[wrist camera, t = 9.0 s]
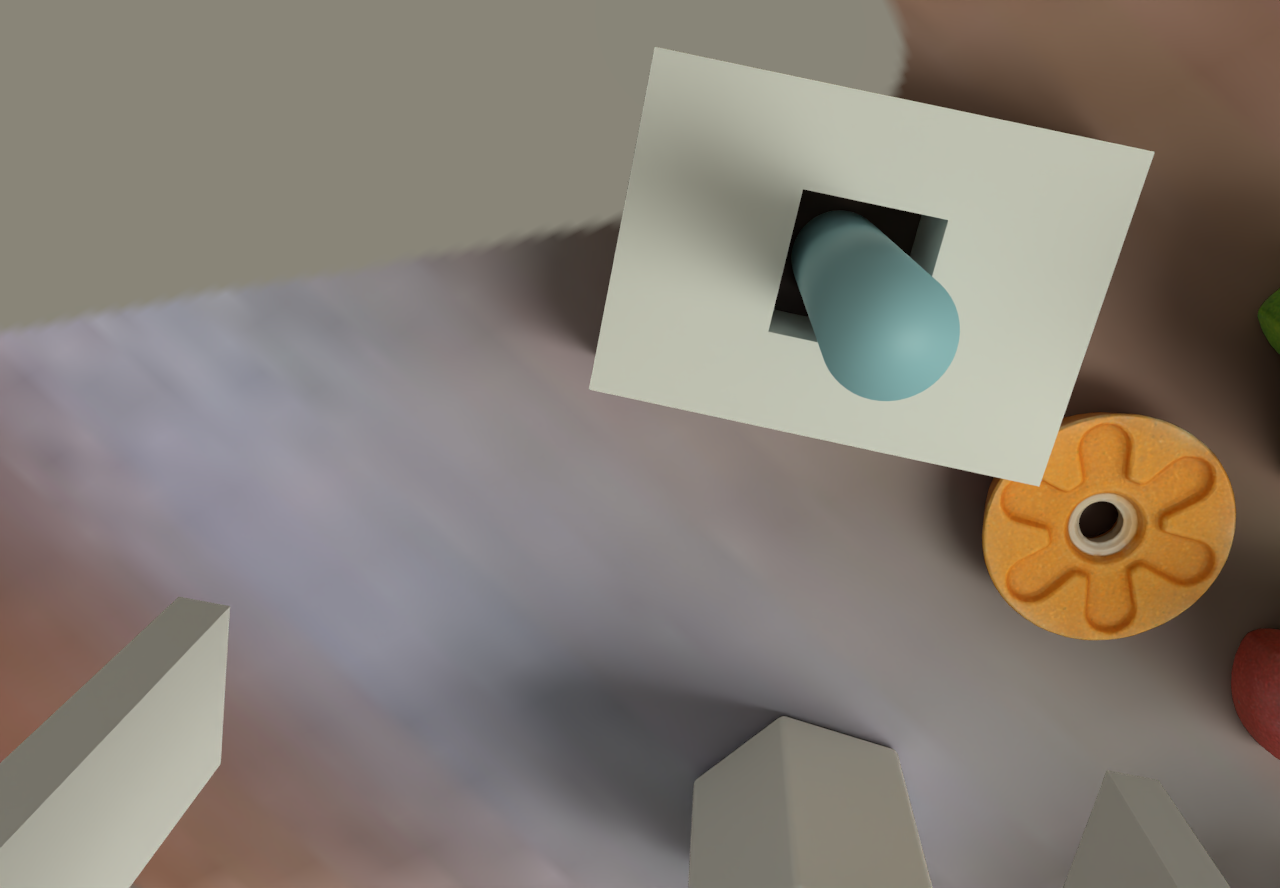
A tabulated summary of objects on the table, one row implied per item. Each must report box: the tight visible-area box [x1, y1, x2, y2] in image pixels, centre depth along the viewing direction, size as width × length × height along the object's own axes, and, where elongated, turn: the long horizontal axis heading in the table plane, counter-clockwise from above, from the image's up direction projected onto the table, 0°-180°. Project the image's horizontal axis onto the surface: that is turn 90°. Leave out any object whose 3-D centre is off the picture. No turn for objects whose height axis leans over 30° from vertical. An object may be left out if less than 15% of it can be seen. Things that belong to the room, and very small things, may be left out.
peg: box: [791, 210, 960, 401], centre depth 29 cm, size 3×3×12 cm
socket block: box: [589, 47, 1155, 486], centre depth 32 cm, size 14×10×4 cm
